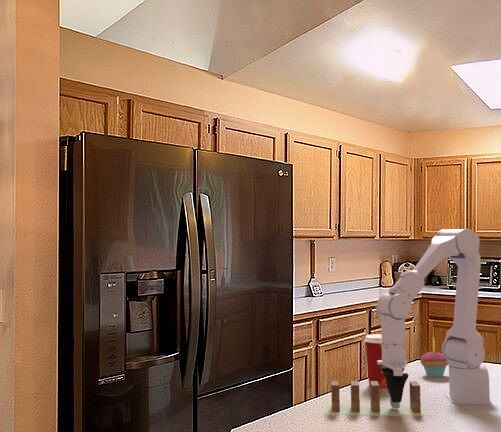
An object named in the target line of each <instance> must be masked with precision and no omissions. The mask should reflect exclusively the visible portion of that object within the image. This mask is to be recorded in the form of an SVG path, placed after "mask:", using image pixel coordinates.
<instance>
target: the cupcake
mask: <svg viewBox="0 0 501 432" xmlns="http://www.w3.org/2000/svg"><path fill="white" fill-rule="evenodd" d="M431 338H432V339H431V340H432V351H430V352H429V351H428V352H425V353H423V354H422V355H421V356H420V360H419V361H420V364H421V365H422V368H423V369H424V371H425V375H426V377H430V378H442V377H444V375H445V371H446V367H447V366H449V364H448V363H447V359H446V358H445V357H444V356H443V353H442V352H436V339H435V337H434V334H433V335H432V337H431Z"/></svg>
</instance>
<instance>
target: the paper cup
mask: <svg viewBox="0 0 501 432" xmlns="http://www.w3.org/2000/svg"><path fill="white" fill-rule="evenodd" d="M364 342H365V350H366V351H365V352H366V365H367V375H368V385H369V387H370V381H378V384H379V389H384V388H387V383H386V379H385V376H384V373H383V371H382V369H381V367H383V366H384V365H378V364H377V360H382V338H381V334H379V333H376V334H374V333H373V334H367V335H365V339H364Z"/></svg>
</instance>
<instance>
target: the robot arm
mask: <svg viewBox="0 0 501 432" xmlns="http://www.w3.org/2000/svg"><path fill="white" fill-rule="evenodd" d="M480 240H481V238H480V237H479V236H478V235H477V234H476V233H475V232H474V230H472V229H470V228H464V229H463V228H462V229H461V228H460V229H459V228H458V229H447V228H446V229H445V228H442V229H440V230H438V231H437V233H436V235H434V237H432V239H431V242H430V243H431V244H430V245H429V246H428V248H427V250H426V251H425V253H424V254H423V255H422V257H420V260H419V261H418V262H417V263H416V265H415V267H414V268H413V269H412V270H406V271H402V272H401V273H400V275H399V277H400V278H399V279H398V280H397V281H396V282H395V284H394V285H393V286H391V287H390V288H389V289H388V292H386V293H383V294H382V295H380V296H379V298H378V300H377V301H376V302H377V304H375V309H376V313H378V315H379V321H380V331H381V338H382V360H377V364H378V365H384V366H383V367H381V369H382V371H383V373H384V376H385V379H386V383H387V387H386V388H387V393H388V396H389V397H390V396H391V400H392V402H400V403H402V401H403V400H402V399H403V394H404V388H405V385H406V382H407V380H408V379H409V373H407V372H404V371H405V367H406V366H407V365H408V361H407V349H406V348H407V347H406V345H407V343H406V316H408V315H409V314H410V312H411V311H410V310H411V305H412V303H413V301H414V299H415V298H416V297H417V296H418V294H419V293H420V292H421V290H423V288H424V287H425V278H426V277H427V276H428V275H429V274H430V273H431V272H432V271H433V270H434V269H435V268H436V266H437V265H439V263H441V261H442V260H443V259H444V258H449V259H450V260H452V261H453V262H454V263H455V264H456V265H457V276H456V287H455V288H456V290H455V300H454V311H453V321H452V322H453V323H452V324H453V325H452V326H451V327H450V328H449V329H448V330H447V331H446V333H445V339H444V341H443V343H442V346H441V353H443V356H444V357H445V358H446V359H447V363H448V364H449V365H448V381H449V382H448V385H449V393H445V395H444V396H445V397H446V398H447V399H448V401H449V402H450V403H451V404H453V405H454V404H456V405H457V404H459V405H460V404H461V405H462V404H463V405H466V404H467V405H491V401H490V399H491V398H490V397H491V395H490V377H489V371H488V368H487V366H486V365H482V363H484V360H485V356H486V355H485V354H486V352H485V347H484V337H483V336H482V335H481V334H480V333H479V331H478V330H477V329H476V328H477V327H476V326H477V315H478V301H479V300H478V299H479V289H480V276H481V265H482V261H481V255H480V243H481V242H480Z"/></svg>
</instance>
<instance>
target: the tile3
mask: <svg viewBox="0 0 501 432" xmlns="http://www.w3.org/2000/svg"><path fill="white" fill-rule="evenodd" d="M369 387H370V388H369V389H370V390H369V392H370V393H369V394H370V404H371V409H372V412H380V405H381V402H380V401H381V400H380V399H381V397H380V396H381V394H380V391H381V390H380V388H379V384H378V381H370V386H369Z"/></svg>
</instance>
